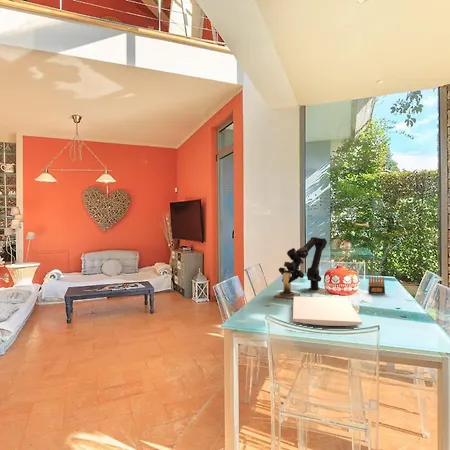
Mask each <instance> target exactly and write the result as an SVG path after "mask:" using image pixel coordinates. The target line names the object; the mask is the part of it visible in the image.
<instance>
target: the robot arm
mask: <svg viewBox="0 0 450 450" xmlns="http://www.w3.org/2000/svg"><path fill="white" fill-rule="evenodd" d="M327 241H328V240H327V239H326V238H323V237H321V238H320V237H317V236H312V237H310V239H309V240H308V241H307V242H306V243H305V244H304V245H303V246H302V247H300V248H298V249H297V250H296V248H294V247H292V248H290V249H289V250H287V252H286V255H287V256H288V257H289V259H290V260H291V261H284V263H283V267H279V268H278V272H279V273H280V274H281V275H282V276H283V273H284V272H290V273H291V278H290V279H289V282H288V283H291V284H292V282H294V281H296V280H297V279H303V278H304V277H305V274H304V273H303V271H302V270H300V266H301V264H303V265H304V260H303V259H306V258H307V257H308V256H309V252H310V250H311V249H312V248H313V247H314V248H315V249H314V250H315V251H314V254H313V258H312V262H311V266H310V267H308V268H307V271H306V278H307V280H308V281H310V286H309V288H308V289H309V290H315V291H318V290H320V286H319V283H320V282H321V281H322V277H321V276H320V270H319V265H320V261H321V257H322V253H323V251H324V250H325V248H326V247H327V243H328V242H327ZM281 282H282V283H283V278H282V279H281Z"/></svg>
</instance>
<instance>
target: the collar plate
mask: <svg viewBox="0 0 450 450" xmlns="http://www.w3.org/2000/svg"><path fill="white" fill-rule="evenodd" d="M300 295H301V293H296V292H294V291H291V292H283V290H282V291H280V292H278V293H276V294H275V295H273V298H276V297H278V298H279V299H284V300H285V299H287V300H292V301H294V296H298V297H300Z"/></svg>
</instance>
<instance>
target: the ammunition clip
mask: <svg viewBox="0 0 450 450" xmlns="http://www.w3.org/2000/svg"><path fill="white" fill-rule="evenodd" d="M385 288H386V287H385V276H381V275H380V276H378V275H377V276H374V275H373V276H369V277H368V287H367V293H368V292H369V293H368V294H372V293H385V294H386V289H385Z"/></svg>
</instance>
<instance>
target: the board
mask: <svg viewBox="0 0 450 450" xmlns="http://www.w3.org/2000/svg"><path fill="white" fill-rule="evenodd" d="M292 305H293V306H292V307H293V309H292V322H297V323H302V324H303V325H315V326H328V327H329V326H333V327H336V326H338V327H343V326H345V327H346V326H349V327H350V326H361V325H362V326H363V322H362V319H361V318H360V317H359V315H358V313H357V311H356V310H355V308H354V306H353V305H352V303H351V302H350V299H349V298H348V297H345V298H344V297H323V296H322V297H321V296H294V300H293V304H292Z"/></svg>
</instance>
